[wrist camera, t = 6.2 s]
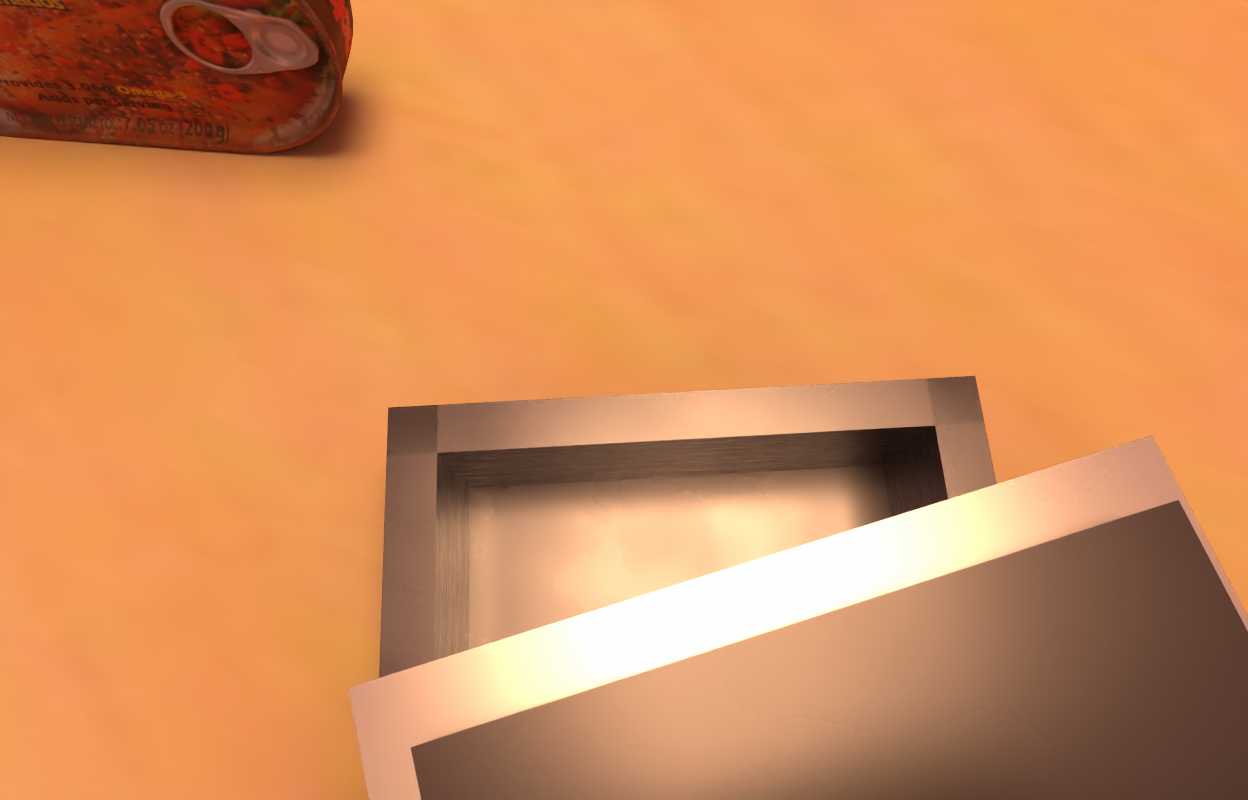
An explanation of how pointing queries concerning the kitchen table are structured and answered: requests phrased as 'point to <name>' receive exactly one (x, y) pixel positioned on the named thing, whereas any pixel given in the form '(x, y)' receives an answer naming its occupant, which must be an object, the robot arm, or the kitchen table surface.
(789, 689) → the block
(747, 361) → the kitchen table surface
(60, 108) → the tin
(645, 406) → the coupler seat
